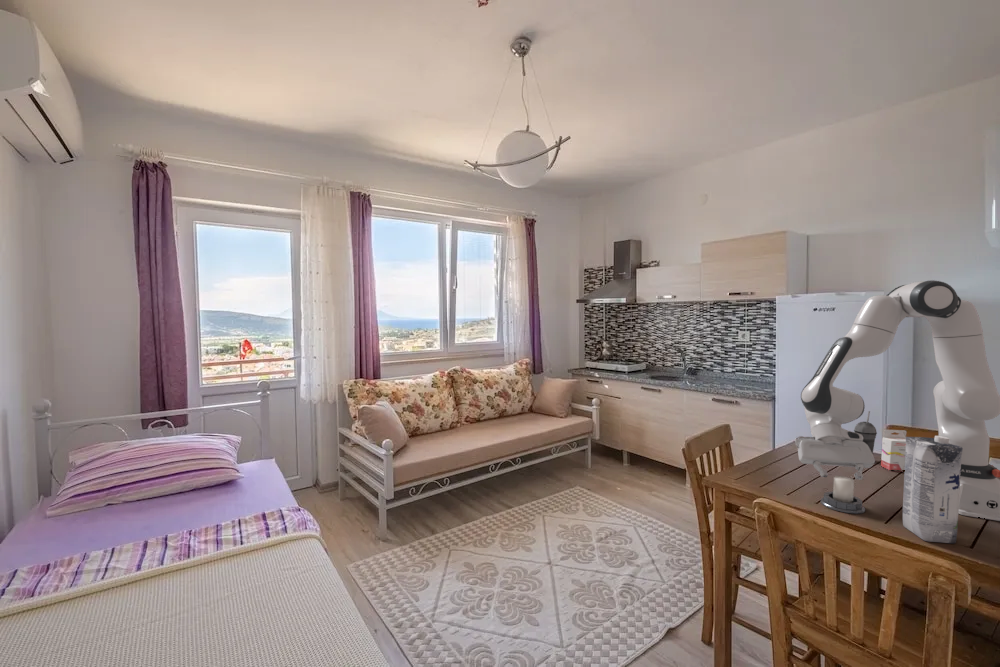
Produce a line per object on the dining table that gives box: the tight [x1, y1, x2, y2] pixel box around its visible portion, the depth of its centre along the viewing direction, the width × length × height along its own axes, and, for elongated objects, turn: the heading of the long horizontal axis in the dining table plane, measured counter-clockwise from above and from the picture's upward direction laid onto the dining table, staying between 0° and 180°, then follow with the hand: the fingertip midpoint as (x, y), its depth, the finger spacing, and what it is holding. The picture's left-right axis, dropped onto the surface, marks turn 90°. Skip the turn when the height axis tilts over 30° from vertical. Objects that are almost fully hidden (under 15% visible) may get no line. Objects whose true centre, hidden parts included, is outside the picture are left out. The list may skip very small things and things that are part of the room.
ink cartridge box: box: [880, 429, 907, 471], centre depth 173 cm, size 9×5×15 cm, turn 84°
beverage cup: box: [853, 410, 878, 454], centre depth 184 cm, size 7×7×20 cm
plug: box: [832, 475, 855, 503], centre depth 141 cm, size 5×5×8 cm
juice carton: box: [902, 435, 963, 544], centre depth 122 cm, size 9×10×27 cm
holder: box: [820, 491, 866, 515], centre depth 141 cm, size 11×11×3 cm
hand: (841, 477), depth 142 cm, fingers open, 8 cm apart
